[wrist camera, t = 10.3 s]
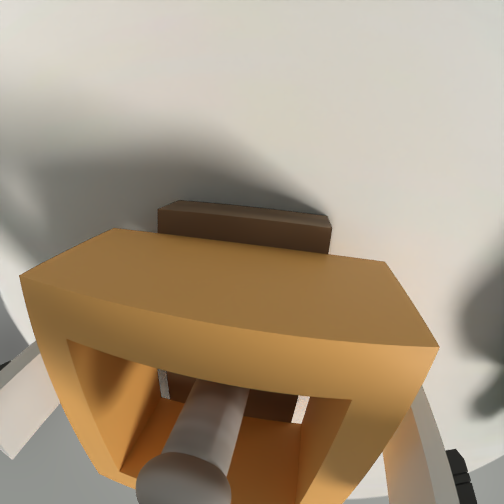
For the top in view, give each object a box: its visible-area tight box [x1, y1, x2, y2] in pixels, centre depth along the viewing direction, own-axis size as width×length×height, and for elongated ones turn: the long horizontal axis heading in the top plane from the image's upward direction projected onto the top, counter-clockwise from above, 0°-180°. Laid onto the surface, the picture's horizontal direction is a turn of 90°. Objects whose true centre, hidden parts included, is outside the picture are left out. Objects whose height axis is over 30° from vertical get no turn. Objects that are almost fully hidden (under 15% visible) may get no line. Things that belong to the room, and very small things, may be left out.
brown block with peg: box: [136, 200, 332, 504], centre depth 10 cm, size 14×6×10 cm, turn 176°
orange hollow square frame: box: [19, 228, 440, 504], centre depth 9 cm, size 10×10×5 cm
